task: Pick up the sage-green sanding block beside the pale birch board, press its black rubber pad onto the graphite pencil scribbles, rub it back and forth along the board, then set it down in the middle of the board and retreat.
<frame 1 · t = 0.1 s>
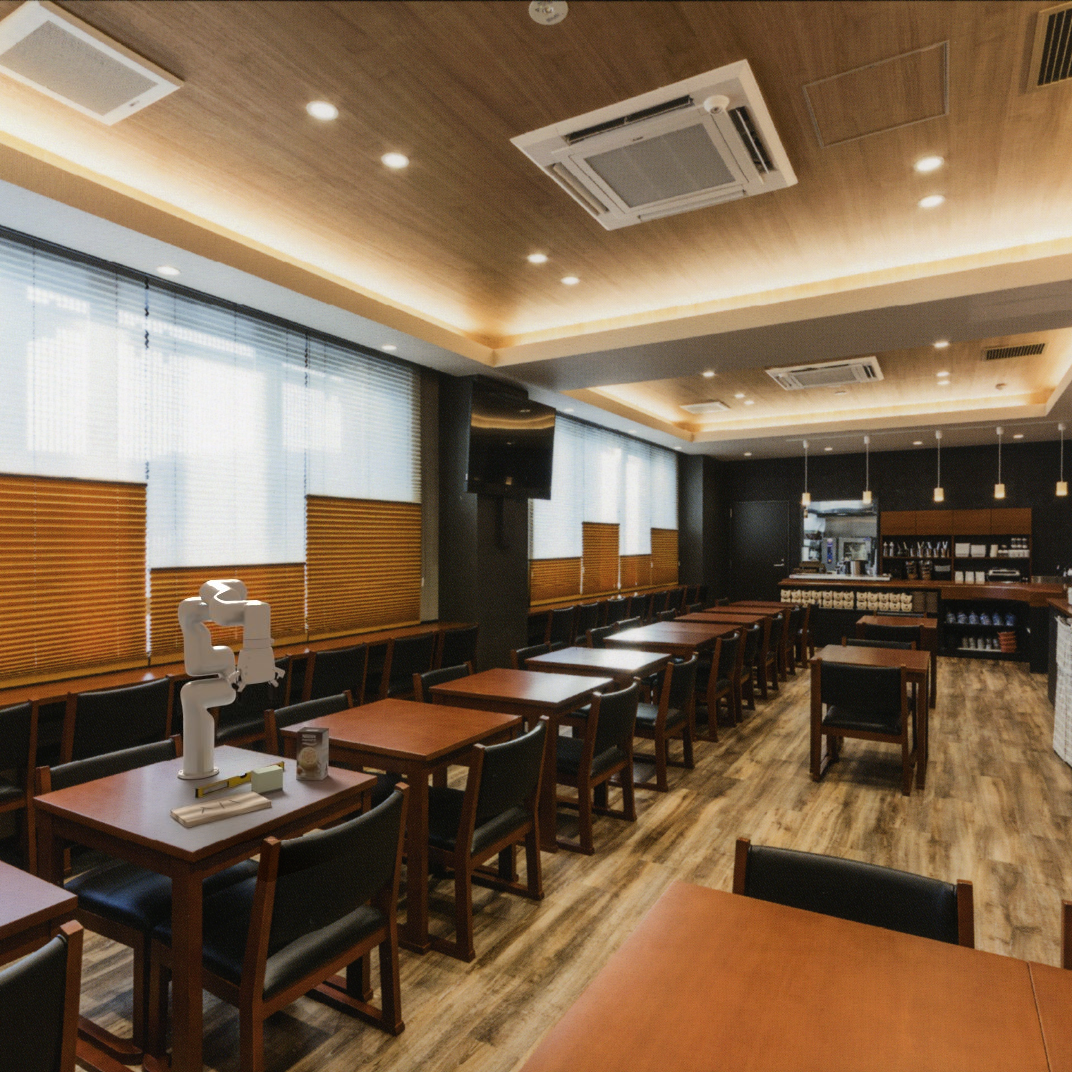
hand: (256, 702, 217), 31 cm above the table, fingers open, 9 cm apart
sanding block: (267, 791, 232), on the table
coffee box: (312, 778, 246), on the table
spirit level: (242, 784, 240), on the table
board: (221, 810, 215), on the table
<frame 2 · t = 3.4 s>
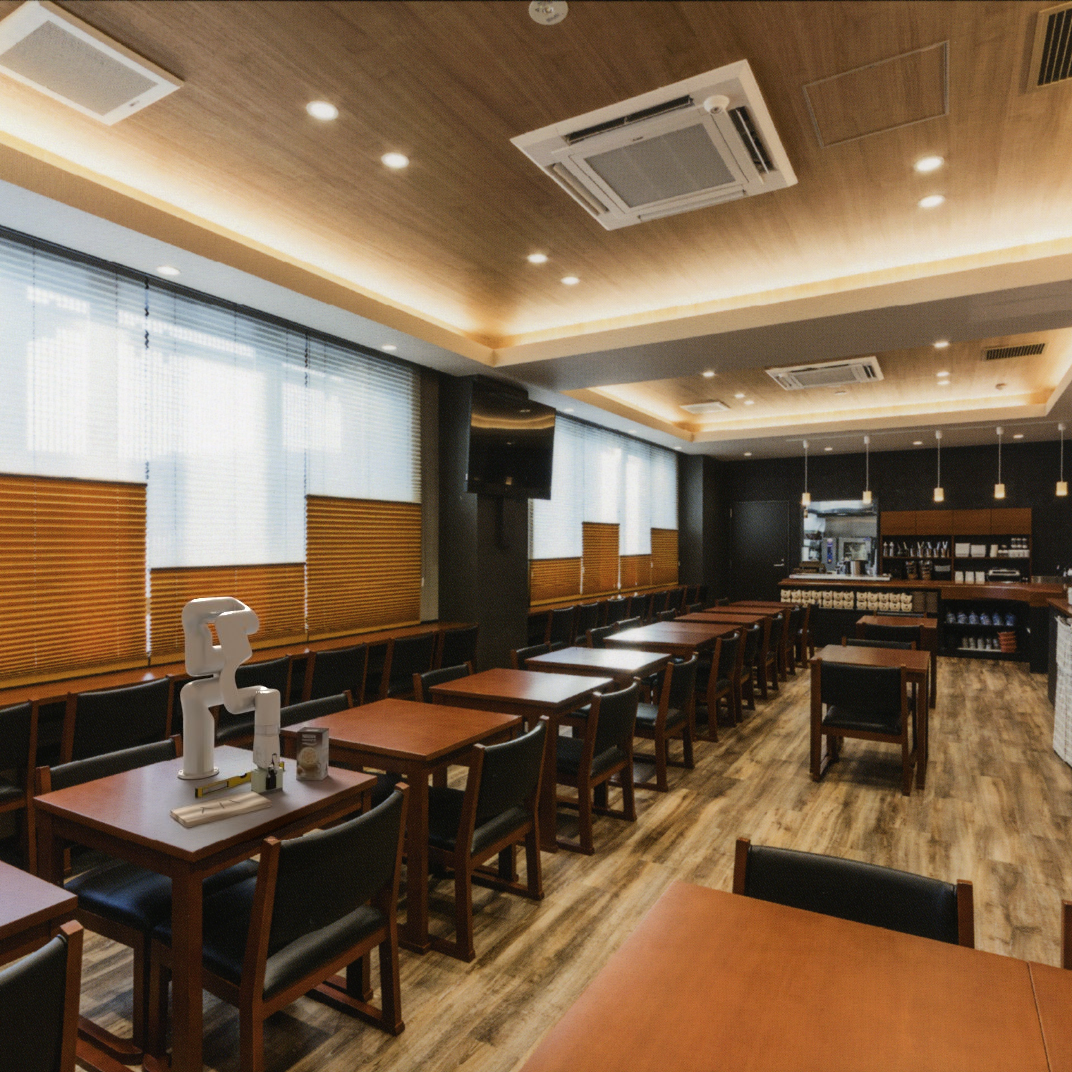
hand: (266, 786, 232), 1 cm above the table, fingers closed on sanding block, 5 cm apart
sanding block: (266, 791, 232), on the table, touching gripper
everything else where it was.
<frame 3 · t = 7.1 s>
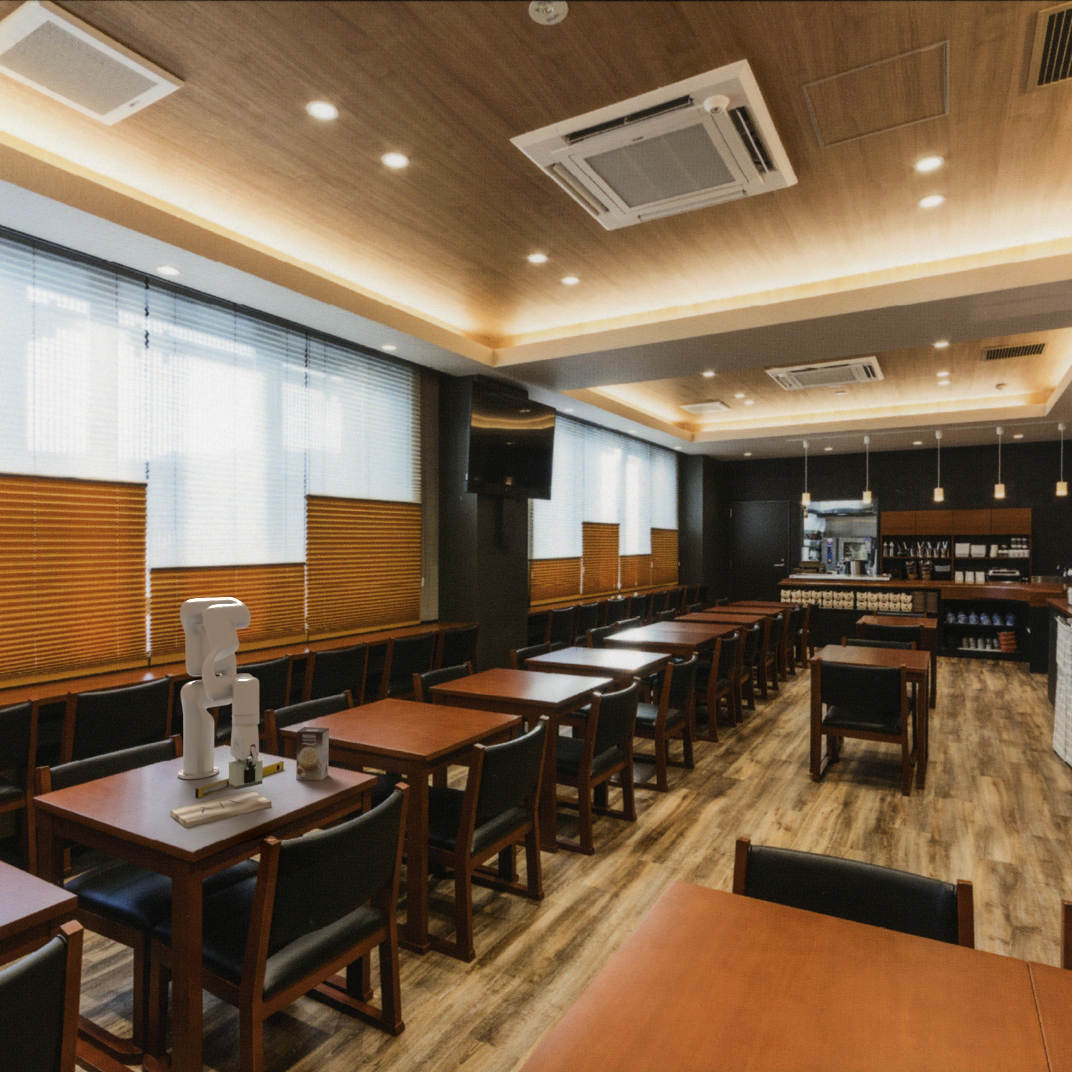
hand: (245, 779, 220), 7 cm above the table, fingers closed on sanding block, 5 cm apart
sanding block: (245, 784, 220), point 6 cm above the table, touching gripper
everything else where it was.
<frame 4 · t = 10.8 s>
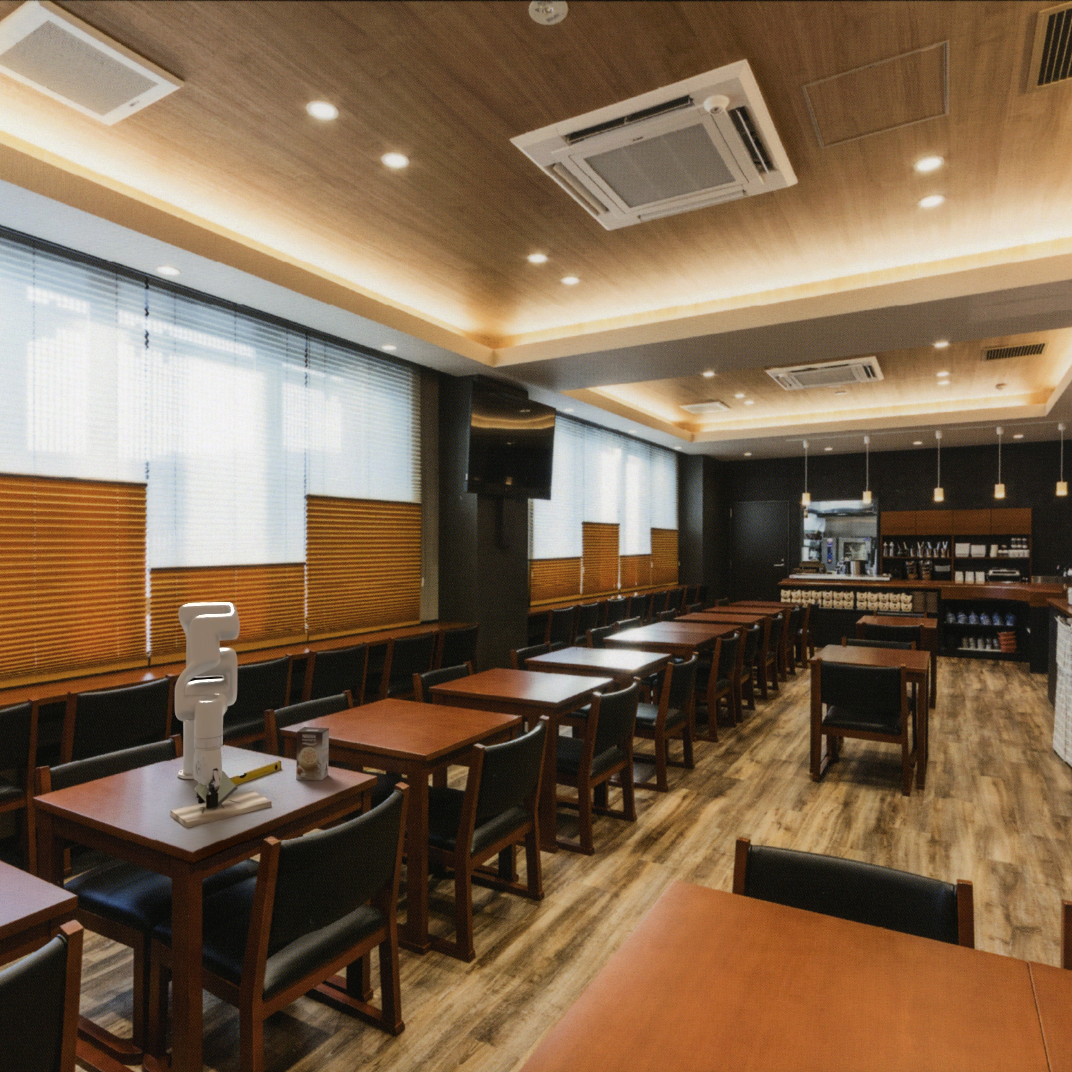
hand: (208, 804, 212), 3 cm above the table, fingers closed on sanding block, 5 cm apart
sanding block: (222, 796, 215), point 4 cm above the table, tilted 35°, touching board, gripper
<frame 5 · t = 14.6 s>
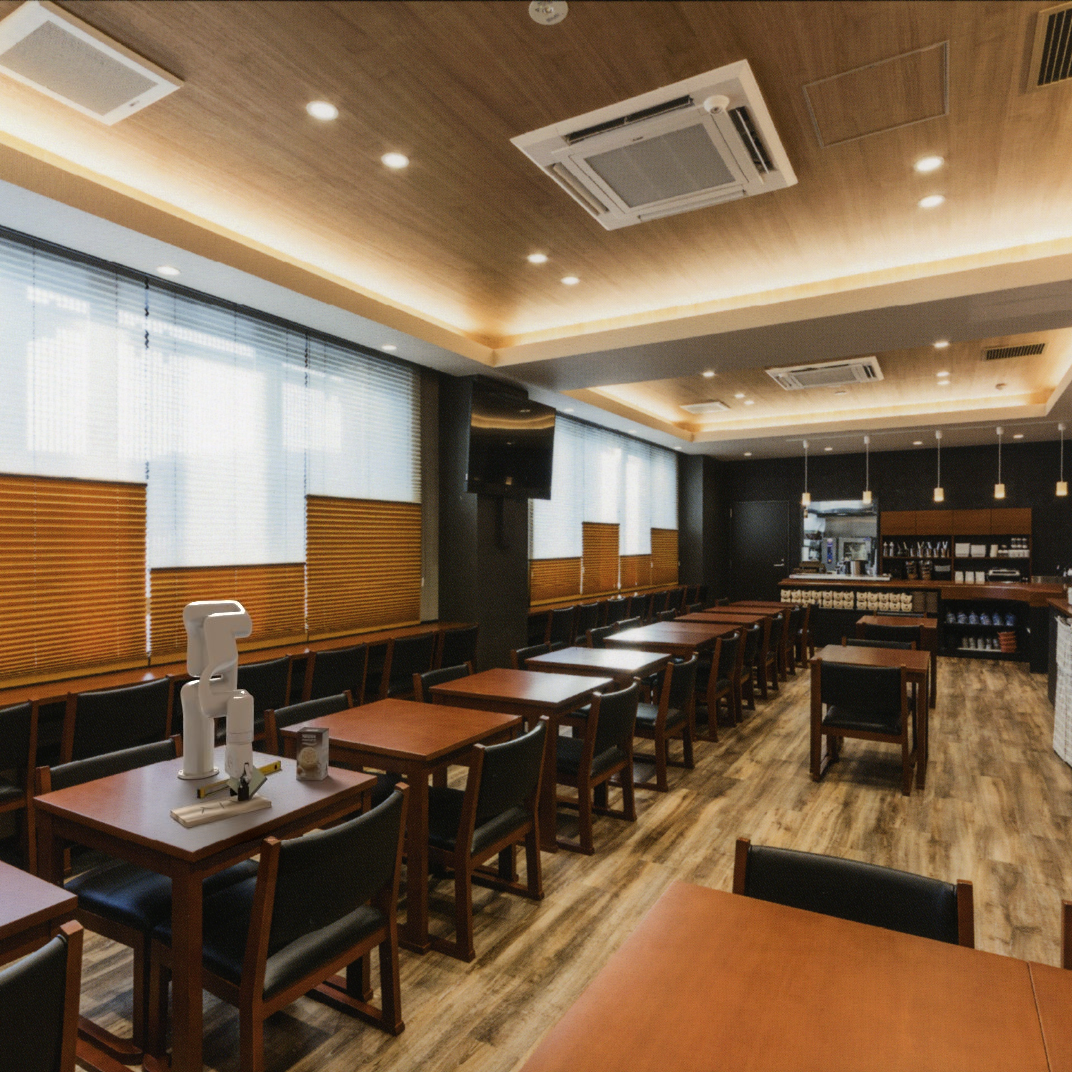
hand: (239, 797, 219), 3 cm above the table, fingers closed on sanding block, 5 cm apart
sanding block: (254, 788, 222), point 4 cm above the table, tilted 42°, touching gripper
everything else where it was.
when the fingers open (4 cm above the table, at t = 18.1 s): sanding block drops 4 cm, resting on board.
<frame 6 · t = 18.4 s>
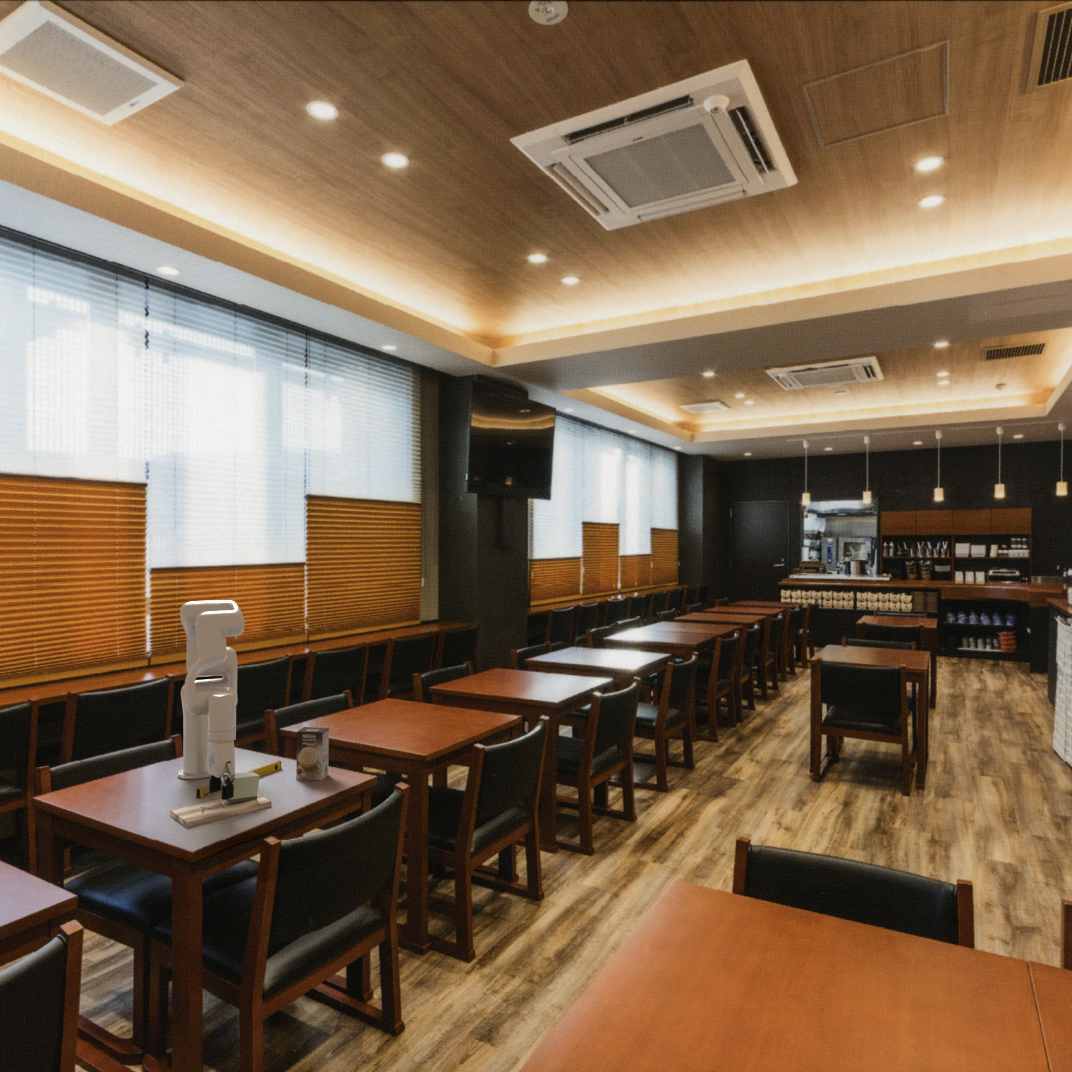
hand: (221, 794, 215), 5 cm above the table, fingers open, 8 cm apart
sanding block: (240, 799, 219), point 2 cm above the table, tilted 6°, touching board
everything else where it was.
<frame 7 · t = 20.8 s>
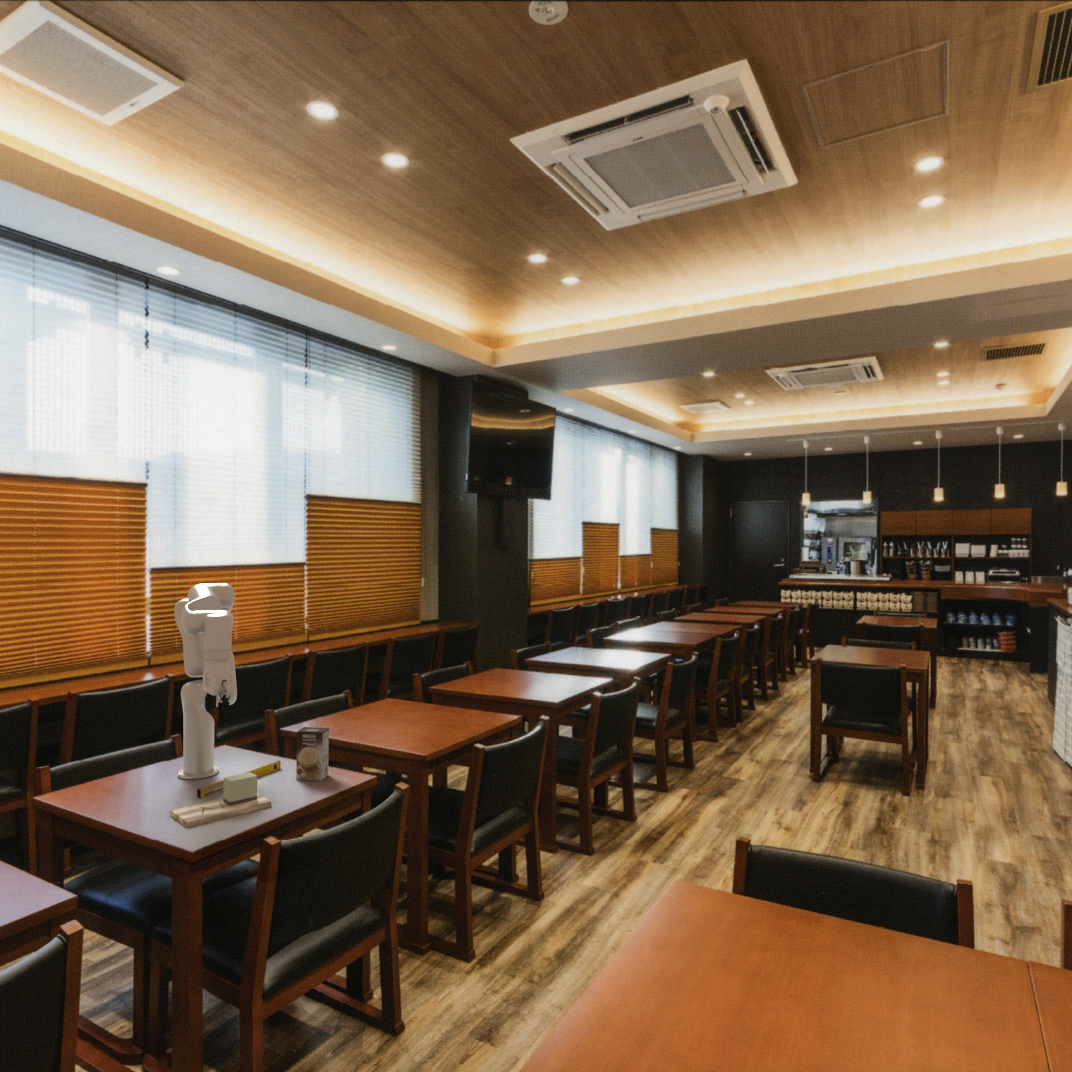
hand: (216, 712, 220), 28 cm above the table, fingers open, 9 cm apart
sanding block: (240, 800, 219), point 2 cm above the table, touching board
everything else where it was.
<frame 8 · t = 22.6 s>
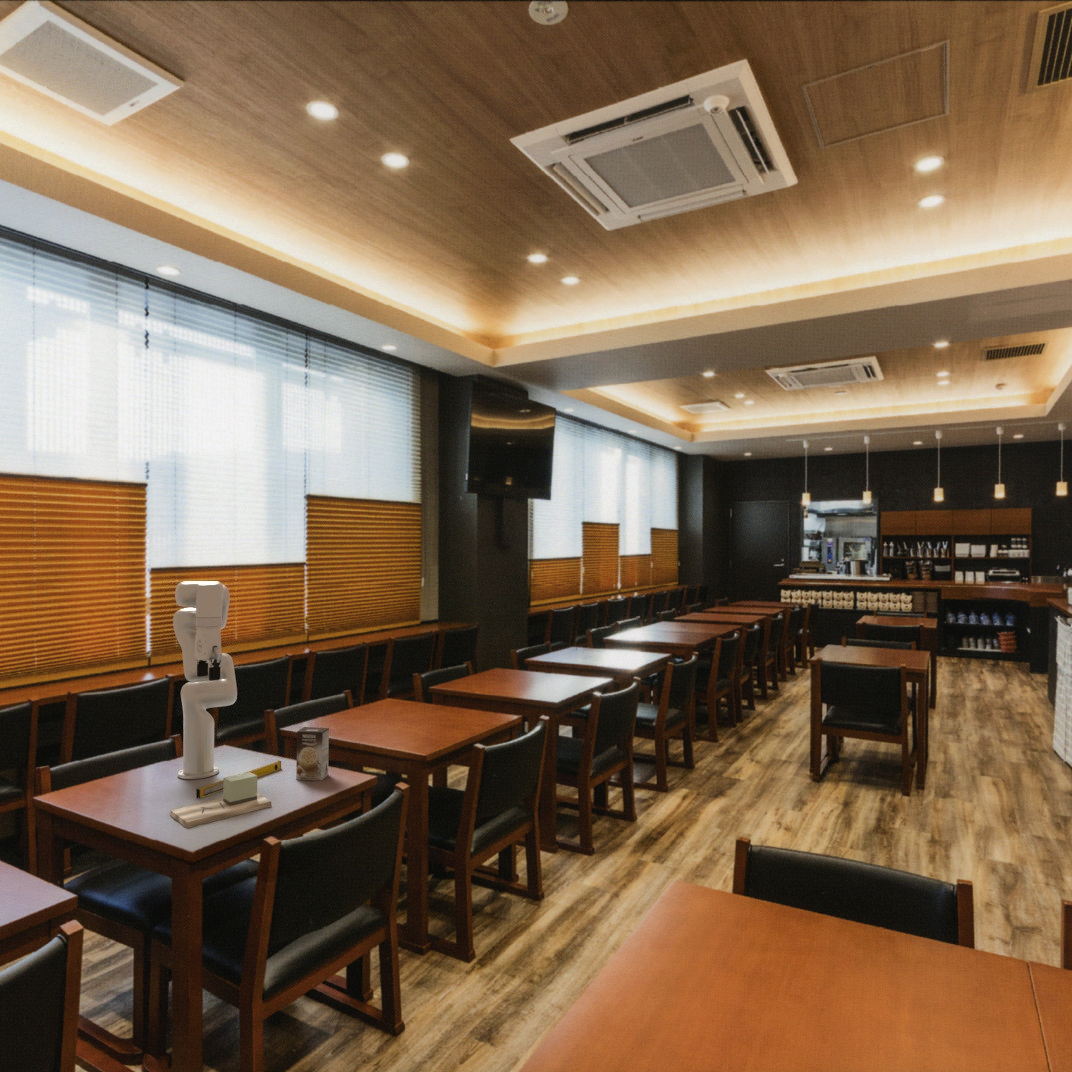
hand: (208, 677, 228), 36 cm above the table, fingers open, 9 cm apart
nothing on the table moved.
at the end: sanding block inside the target area on the board (5.6 cm from its centre), point 1.5 cm above the board's base; sanding block tilted 0°; the gripper is holding nothing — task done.
